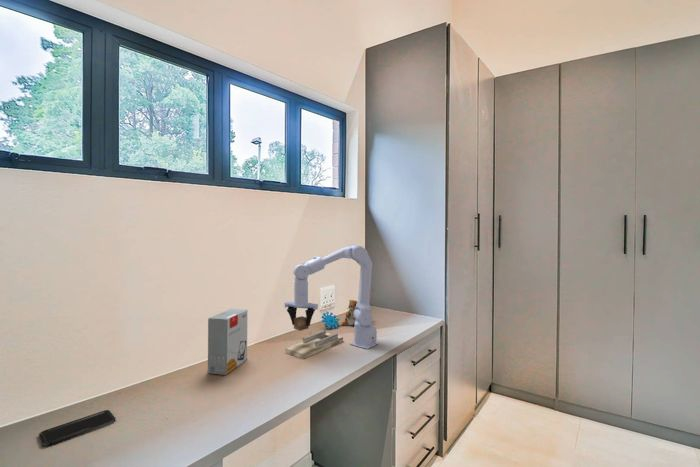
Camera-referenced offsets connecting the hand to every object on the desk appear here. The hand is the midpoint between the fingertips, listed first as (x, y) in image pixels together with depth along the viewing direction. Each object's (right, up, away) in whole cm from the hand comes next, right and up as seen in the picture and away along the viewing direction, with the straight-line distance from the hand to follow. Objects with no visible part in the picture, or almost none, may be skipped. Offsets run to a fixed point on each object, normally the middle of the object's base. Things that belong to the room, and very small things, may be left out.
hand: (301, 325), depth 148 cm
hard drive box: (-25, -11, -17) cm, 32 cm away
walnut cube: (0, -1, 0) cm, 1 cm away
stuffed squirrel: (+23, -10, +38) cm, 45 cm away
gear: (+11, -10, +31) cm, 35 cm away
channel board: (+6, -10, +3) cm, 12 cm away
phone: (-50, -13, -57) cm, 77 cm away
